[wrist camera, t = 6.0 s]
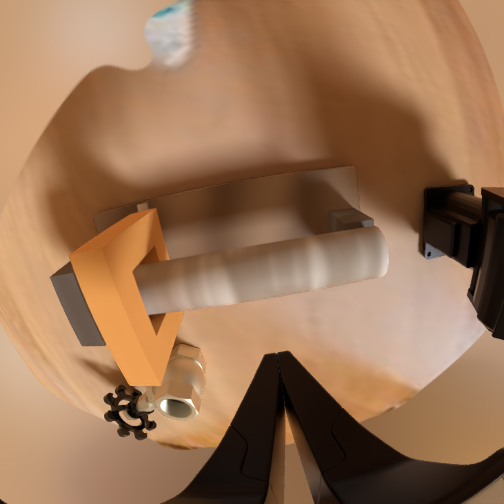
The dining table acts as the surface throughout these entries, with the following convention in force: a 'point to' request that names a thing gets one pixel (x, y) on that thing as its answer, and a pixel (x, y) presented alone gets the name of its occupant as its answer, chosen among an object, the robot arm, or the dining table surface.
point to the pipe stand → (245, 245)
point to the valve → (163, 394)
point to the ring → (127, 296)
